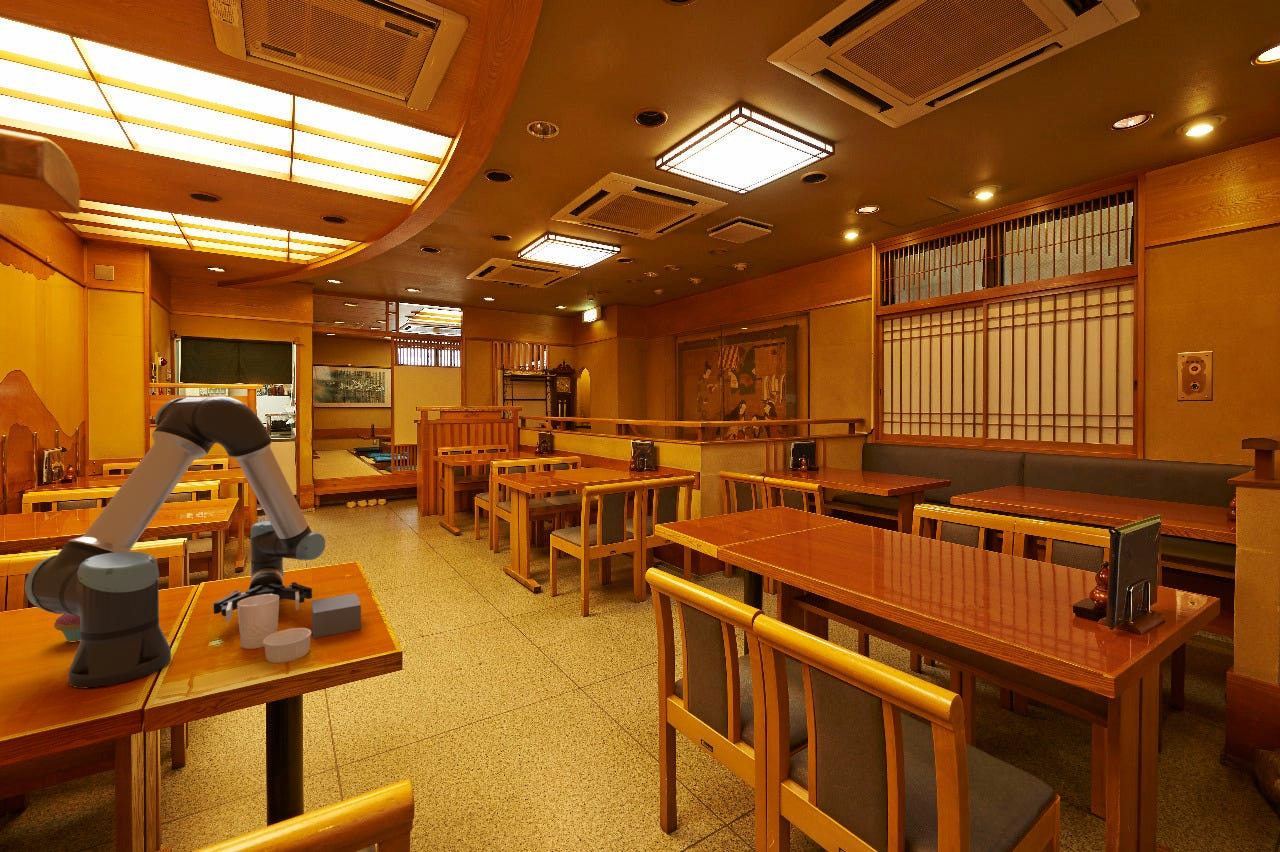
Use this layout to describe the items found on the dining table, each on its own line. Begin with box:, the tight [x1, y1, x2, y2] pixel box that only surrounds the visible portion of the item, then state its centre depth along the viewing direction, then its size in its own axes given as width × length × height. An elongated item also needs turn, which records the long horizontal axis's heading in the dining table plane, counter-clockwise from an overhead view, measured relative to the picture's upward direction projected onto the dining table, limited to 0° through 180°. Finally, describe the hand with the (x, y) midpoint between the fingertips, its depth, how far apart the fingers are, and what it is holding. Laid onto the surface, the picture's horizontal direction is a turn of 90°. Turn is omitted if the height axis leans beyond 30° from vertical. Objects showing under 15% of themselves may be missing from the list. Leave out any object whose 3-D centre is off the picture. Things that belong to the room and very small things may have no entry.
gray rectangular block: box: [311, 593, 362, 639], centre depth 133 cm, size 10×10×6 cm
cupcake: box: [53, 614, 81, 641], centre depth 126 cm, size 9×8×12 cm
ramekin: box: [263, 627, 313, 664], centre depth 118 cm, size 9×9×4 cm
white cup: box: [237, 594, 280, 650], centre depth 124 cm, size 8×8×10 cm
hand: (263, 610), depth 129 cm, fingers open, 13 cm apart
